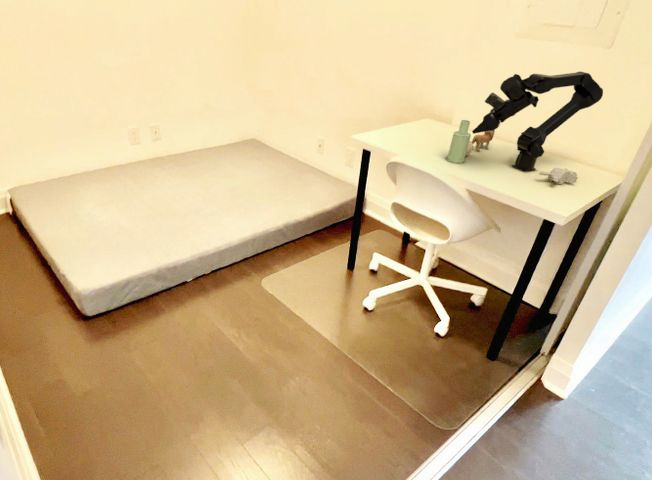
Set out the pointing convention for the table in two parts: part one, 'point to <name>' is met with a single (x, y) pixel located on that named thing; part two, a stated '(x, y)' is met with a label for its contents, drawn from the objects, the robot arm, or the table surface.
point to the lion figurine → (483, 139)
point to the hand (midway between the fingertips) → (475, 129)
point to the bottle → (459, 143)
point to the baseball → (469, 148)
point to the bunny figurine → (561, 175)
